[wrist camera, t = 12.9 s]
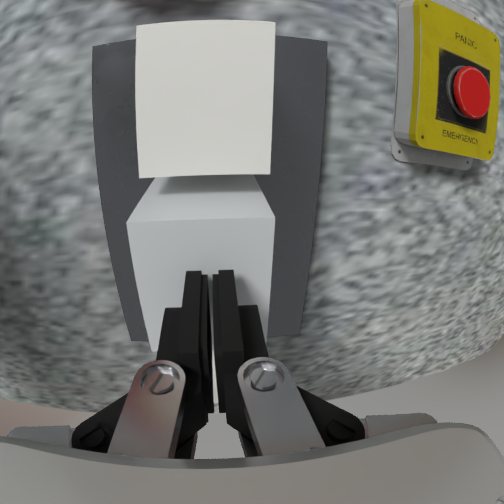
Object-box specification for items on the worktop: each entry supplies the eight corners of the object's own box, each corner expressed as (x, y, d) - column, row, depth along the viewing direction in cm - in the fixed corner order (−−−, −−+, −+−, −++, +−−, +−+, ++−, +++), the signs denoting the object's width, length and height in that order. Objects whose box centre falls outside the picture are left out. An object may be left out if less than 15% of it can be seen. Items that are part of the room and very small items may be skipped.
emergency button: (418, 173, 17) (423, -36, 10) (385, 158, 21) (391, -22, 14) (499, 185, 18) (509, 14, 11) (466, 170, 22) (475, 17, 15)
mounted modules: (161, 48, 14) (136, 25, 8) (254, 46, 14) (275, 22, 9) (182, 340, 23) (178, 403, 18) (247, 338, 24) (257, 400, 18)
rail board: (100, 49, 15) (86, 44, 13) (319, 45, 16) (333, 39, 14) (134, 329, 25) (129, 349, 23) (295, 322, 27) (302, 342, 25)
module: (161, 168, 17) (126, 222, 10) (251, 166, 17) (279, 217, 10) (169, 261, 20) (151, 351, 13) (249, 258, 20) (269, 347, 13)
